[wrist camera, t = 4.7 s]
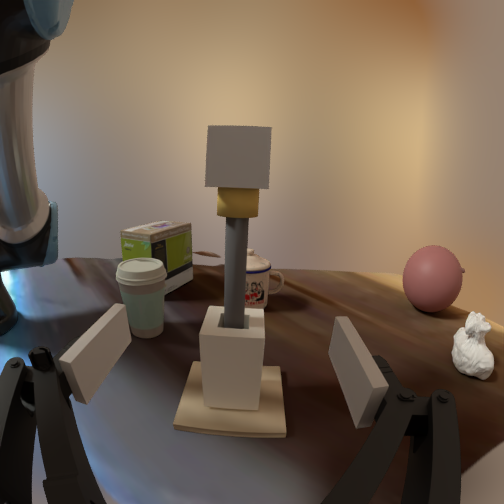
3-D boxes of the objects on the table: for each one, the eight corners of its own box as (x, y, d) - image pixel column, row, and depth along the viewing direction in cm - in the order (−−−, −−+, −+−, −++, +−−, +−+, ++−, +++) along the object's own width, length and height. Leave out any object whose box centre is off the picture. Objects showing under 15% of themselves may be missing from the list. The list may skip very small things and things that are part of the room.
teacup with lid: (224, 312, 52) (224, 255, 49) (225, 294, 61) (226, 243, 58) (284, 313, 53) (290, 257, 50) (278, 295, 62) (282, 245, 59)
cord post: (253, 409, 27) (271, 127, 20) (209, 406, 27) (208, 125, 20) (254, 382, 32) (268, 137, 25) (214, 379, 32) (217, 135, 25)
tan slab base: (285, 437, 24) (286, 432, 24) (174, 429, 24) (173, 424, 24) (279, 371, 36) (279, 366, 35) (193, 366, 36) (193, 360, 35)
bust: (444, 359, 38) (432, 319, 36) (474, 336, 36) (465, 293, 34) (472, 399, 26) (468, 359, 25) (506, 370, 25) (505, 325, 23)
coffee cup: (179, 335, 43) (174, 267, 40) (131, 347, 38) (120, 276, 35) (161, 314, 49) (156, 254, 46) (119, 323, 44) (110, 260, 41)
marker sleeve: (258, 410, 26) (264, 338, 24) (204, 406, 26) (199, 334, 24) (258, 376, 32) (263, 309, 30) (211, 373, 32) (209, 305, 30)
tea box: (163, 273, 72) (162, 219, 68) (194, 280, 68) (193, 222, 64) (124, 291, 58) (119, 228, 54) (155, 301, 55) (151, 232, 51)
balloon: (474, 318, 47) (490, 257, 43) (418, 327, 46) (436, 254, 42) (440, 294, 62) (452, 241, 58) (386, 297, 61) (397, 237, 57)
